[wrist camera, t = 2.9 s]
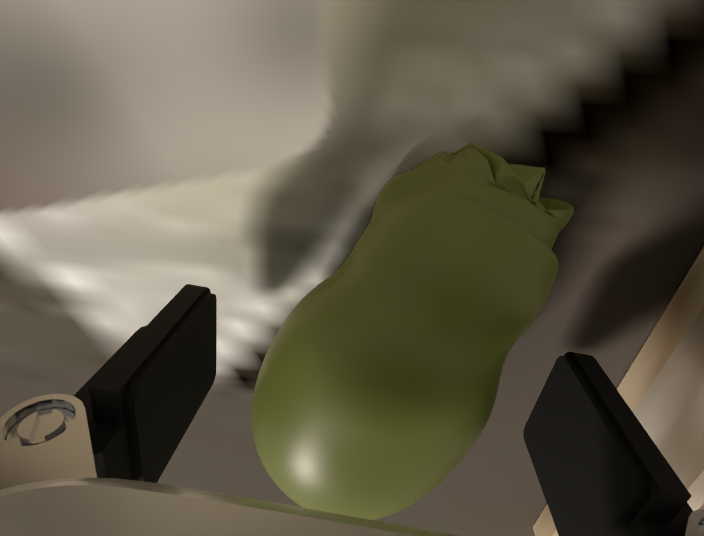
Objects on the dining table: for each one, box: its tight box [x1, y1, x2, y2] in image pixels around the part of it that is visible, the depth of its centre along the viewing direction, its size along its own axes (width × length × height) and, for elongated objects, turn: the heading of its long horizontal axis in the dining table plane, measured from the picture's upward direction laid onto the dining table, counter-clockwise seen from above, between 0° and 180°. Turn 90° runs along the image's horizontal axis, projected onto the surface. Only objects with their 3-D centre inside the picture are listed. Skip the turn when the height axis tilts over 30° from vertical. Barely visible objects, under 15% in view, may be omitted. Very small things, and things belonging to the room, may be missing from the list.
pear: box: [252, 142, 574, 520], centre depth 10 cm, size 6×5×10 cm
